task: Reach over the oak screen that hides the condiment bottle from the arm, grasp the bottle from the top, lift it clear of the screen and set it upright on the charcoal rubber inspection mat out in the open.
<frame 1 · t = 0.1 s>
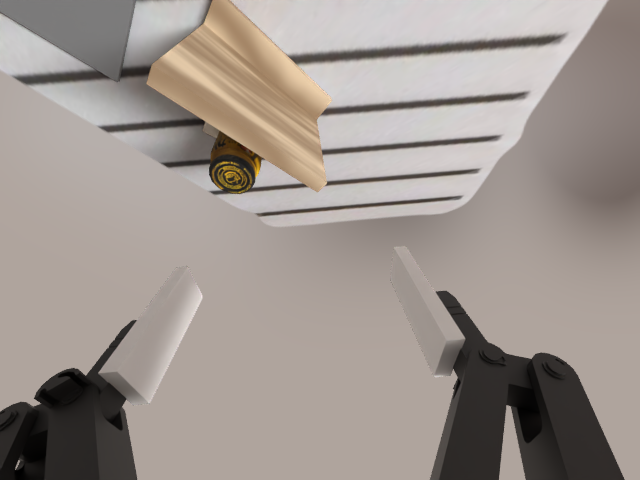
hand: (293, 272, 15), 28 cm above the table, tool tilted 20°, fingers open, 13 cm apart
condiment: (239, 125, 35), on the table
screen: (265, 81, 31), on the table
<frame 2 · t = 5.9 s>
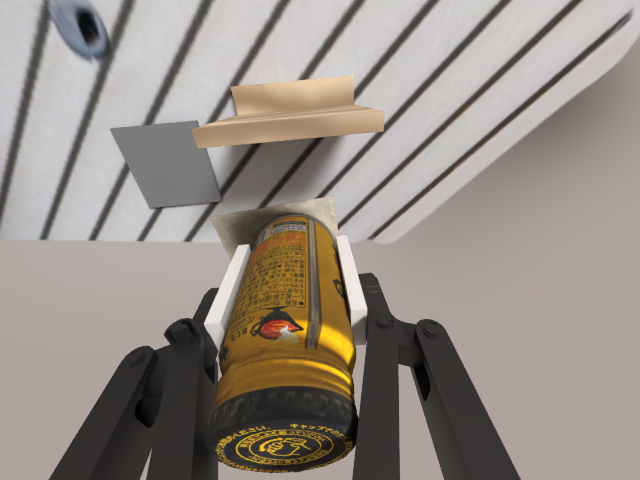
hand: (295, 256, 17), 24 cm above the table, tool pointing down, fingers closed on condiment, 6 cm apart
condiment: (284, 247, 18), point 23 cm above the table, touching gripper
screen: (296, 115, 33), on the table
mat: (172, 167, 36), on the table
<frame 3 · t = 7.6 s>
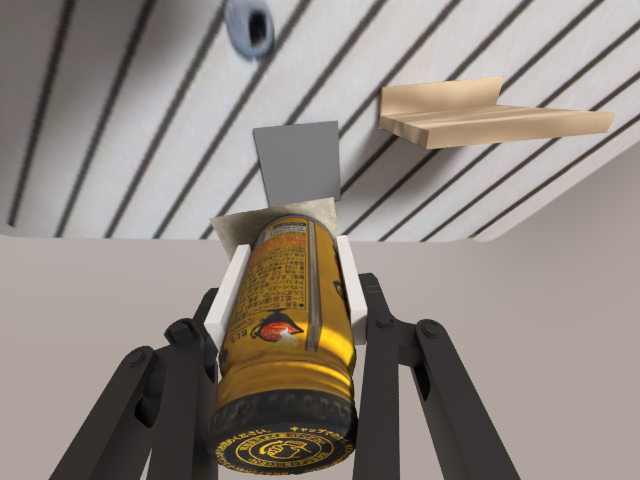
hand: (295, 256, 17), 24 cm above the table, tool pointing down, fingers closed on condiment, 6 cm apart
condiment: (284, 248, 18), point 22 cm above the table, touching gripper
screen: (434, 115, 34), on the table
mat: (300, 166, 37), on the table
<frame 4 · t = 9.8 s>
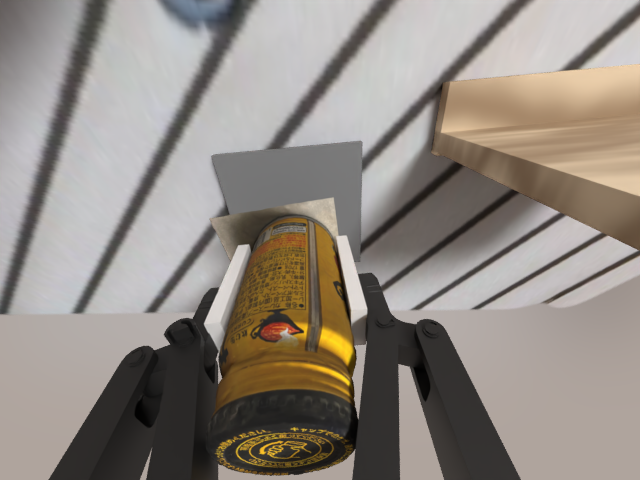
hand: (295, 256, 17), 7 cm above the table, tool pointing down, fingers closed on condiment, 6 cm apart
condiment: (284, 248, 18), point 5 cm above the table, touching gripper
screen: (529, 131, 19), on the table
mat: (297, 213, 22), on the table
when the fingers open (3 cm above the table, at t = 11.3 s): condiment drops 1 cm, resting on mat.
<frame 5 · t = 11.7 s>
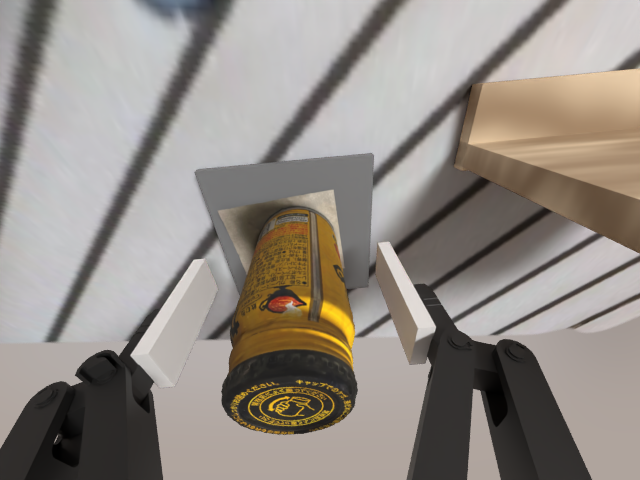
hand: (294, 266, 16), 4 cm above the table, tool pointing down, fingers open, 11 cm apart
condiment: (287, 239, 19), resting on mat
screen: (570, 142, 16), on the table
mat: (296, 235, 19), on the table
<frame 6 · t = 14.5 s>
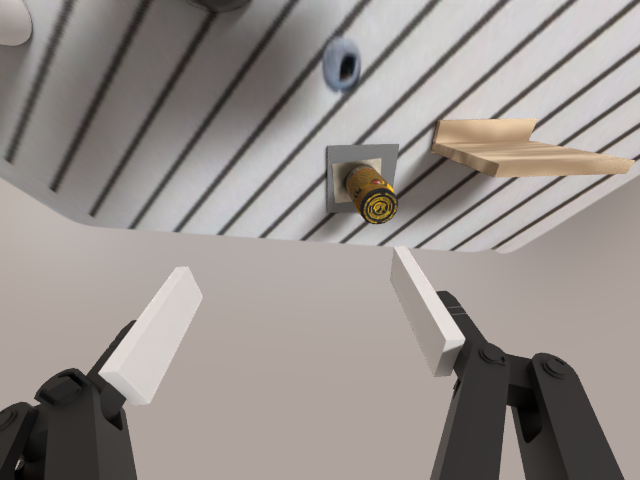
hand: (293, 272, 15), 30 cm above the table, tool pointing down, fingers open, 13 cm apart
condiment: (356, 181, 42), resting on mat
screen: (477, 145, 41), on the table
mat: (360, 180, 43), on the table
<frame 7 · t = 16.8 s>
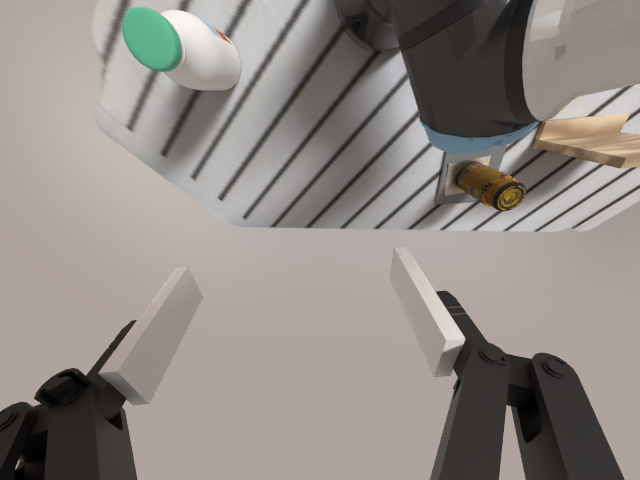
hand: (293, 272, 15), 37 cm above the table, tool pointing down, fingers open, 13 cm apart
milk bottle: (218, 62, 38), on the table
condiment: (465, 176, 50), resting on mat
screen: (572, 139, 48), on the table
mat: (467, 175, 51), on the table
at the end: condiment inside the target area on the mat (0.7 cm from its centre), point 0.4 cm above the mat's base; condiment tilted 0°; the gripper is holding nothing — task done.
